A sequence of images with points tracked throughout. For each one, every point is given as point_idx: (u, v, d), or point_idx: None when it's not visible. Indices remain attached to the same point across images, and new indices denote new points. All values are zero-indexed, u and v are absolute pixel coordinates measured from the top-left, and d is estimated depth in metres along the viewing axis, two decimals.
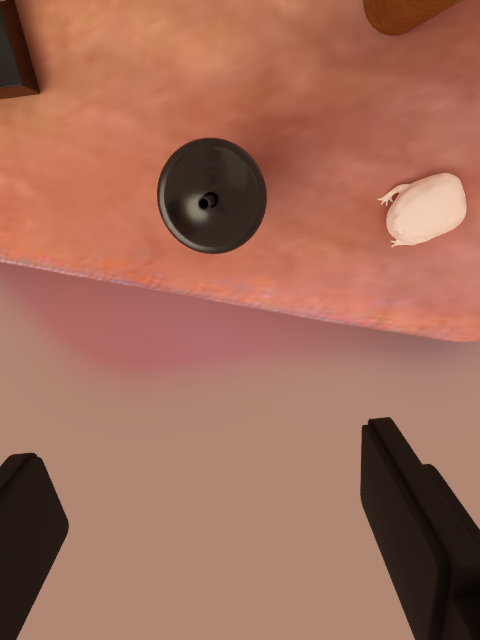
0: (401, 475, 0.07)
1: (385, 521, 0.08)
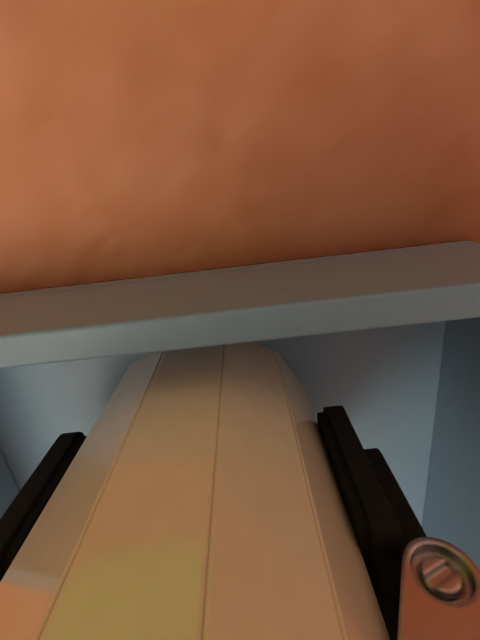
0: (342, 456, 0.08)
1: None
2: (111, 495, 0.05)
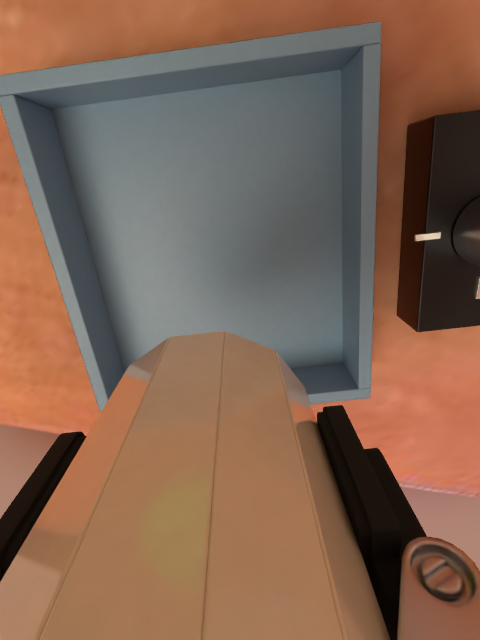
0: (342, 456, 0.08)
1: None
2: (111, 495, 0.05)
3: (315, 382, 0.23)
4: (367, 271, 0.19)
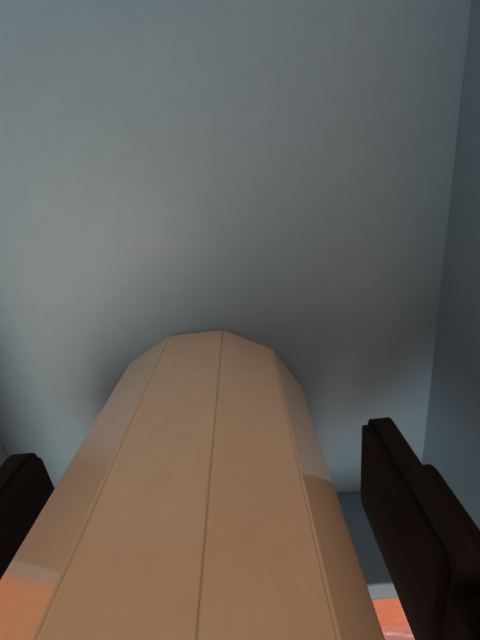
0: (401, 475, 0.07)
1: (385, 521, 0.08)
2: (113, 484, 0.06)
3: None
4: None
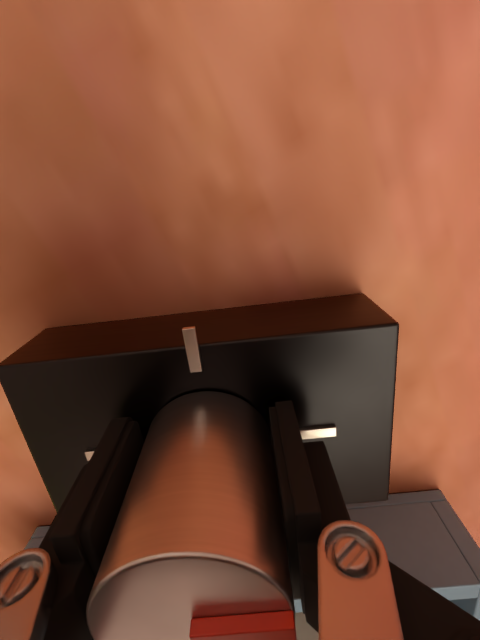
0: (282, 447, 0.09)
1: (279, 489, 0.09)
2: None
3: (450, 600, 0.15)
4: None
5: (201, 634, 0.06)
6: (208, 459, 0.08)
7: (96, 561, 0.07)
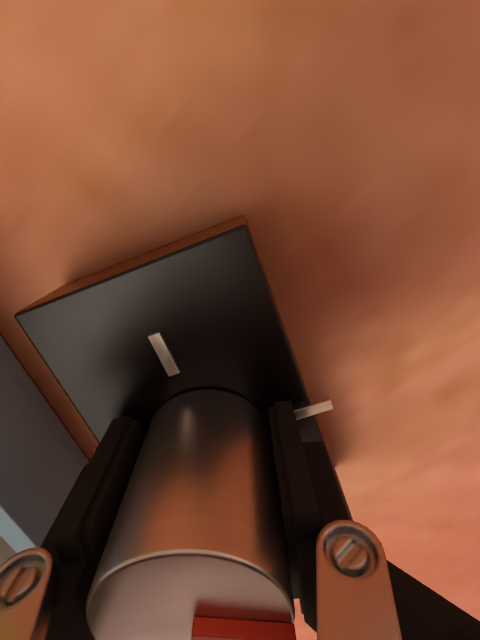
0: (281, 447, 0.09)
1: None
2: None
3: None
4: None
5: (204, 634, 0.06)
6: (228, 461, 0.08)
7: (97, 561, 0.07)
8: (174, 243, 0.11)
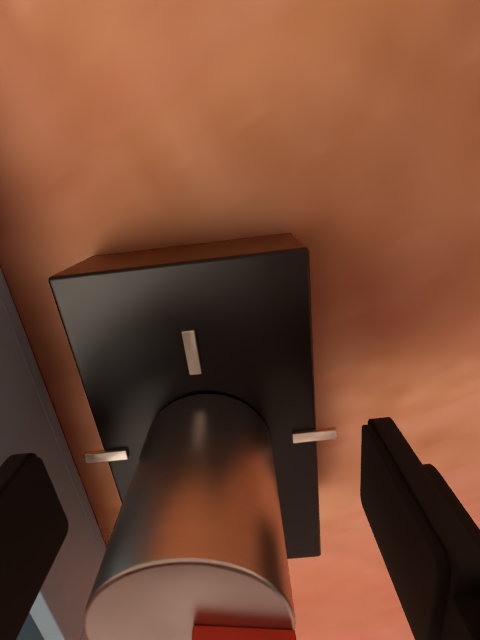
0: (401, 475, 0.07)
1: (385, 521, 0.08)
2: None
3: None
4: None
5: None
6: (225, 465, 0.08)
7: None
8: (220, 244, 0.11)
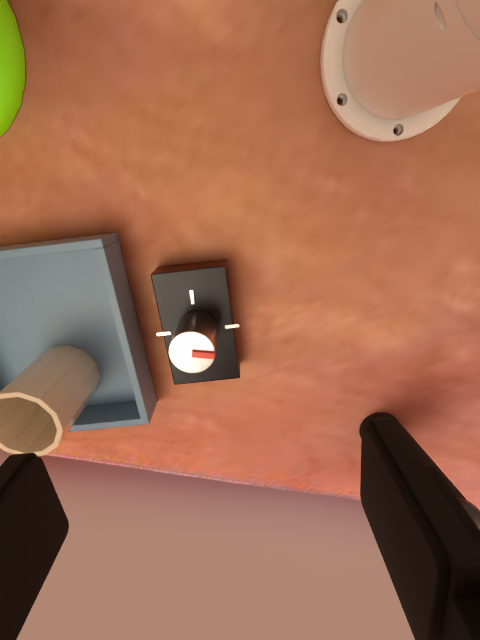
0: (401, 475, 0.07)
1: (385, 521, 0.08)
2: (19, 376, 0.31)
3: (121, 413, 0.37)
4: (127, 354, 0.33)
5: (194, 351, 0.28)
6: (201, 322, 0.30)
7: None
8: (201, 263, 0.33)
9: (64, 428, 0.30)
